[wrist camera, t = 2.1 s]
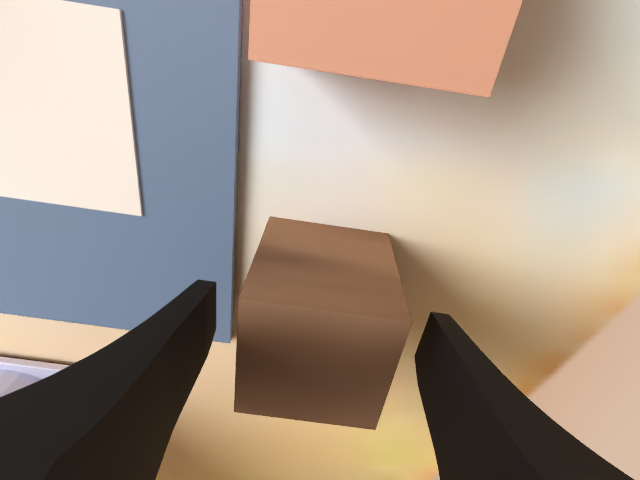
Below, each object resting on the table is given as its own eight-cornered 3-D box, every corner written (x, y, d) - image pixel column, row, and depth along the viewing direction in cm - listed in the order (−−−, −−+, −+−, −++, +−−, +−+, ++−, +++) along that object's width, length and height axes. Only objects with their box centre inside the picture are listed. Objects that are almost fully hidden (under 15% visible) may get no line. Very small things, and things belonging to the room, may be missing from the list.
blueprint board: (232, 337, 16) (229, 344, 16) (-61, 297, 16) (-73, 305, 16) (251, -279, 8) (246, -297, 7) (-381, -397, 7) (-426, -424, 7)
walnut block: (364, 322, 16) (375, 430, 12) (262, 309, 16) (234, 412, 11) (388, 232, 14) (412, 322, 9) (270, 215, 14) (238, 298, 9)
